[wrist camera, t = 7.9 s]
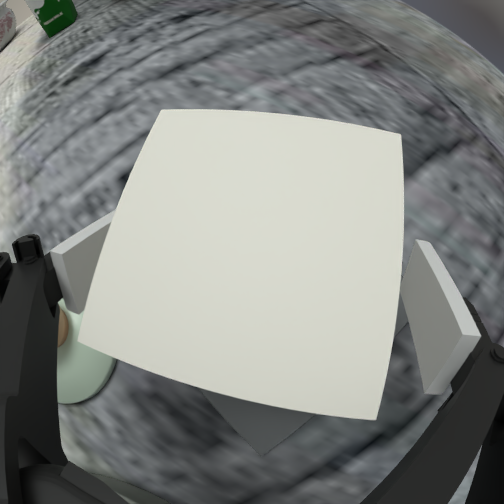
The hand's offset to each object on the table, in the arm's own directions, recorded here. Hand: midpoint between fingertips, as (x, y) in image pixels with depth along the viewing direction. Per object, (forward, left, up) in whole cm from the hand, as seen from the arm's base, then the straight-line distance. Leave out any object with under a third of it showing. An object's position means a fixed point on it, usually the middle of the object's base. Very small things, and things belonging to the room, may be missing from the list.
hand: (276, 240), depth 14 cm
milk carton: (+4, +75, -5) cm, 75 cm away
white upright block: (-2, -1, -5) cm, 5 cm away
